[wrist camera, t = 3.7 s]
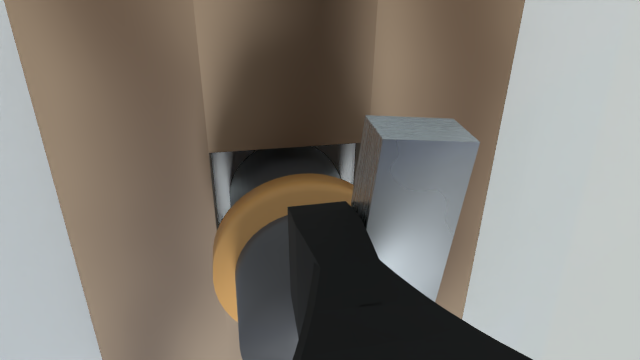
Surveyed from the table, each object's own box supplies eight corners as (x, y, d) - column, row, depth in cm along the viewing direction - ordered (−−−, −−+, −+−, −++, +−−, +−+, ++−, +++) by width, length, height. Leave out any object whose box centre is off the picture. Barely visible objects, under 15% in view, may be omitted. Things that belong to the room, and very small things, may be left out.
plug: (218, 258, 19) (222, 423, 13) (205, 130, 16) (201, 261, 10) (352, 244, 20) (415, 393, 14) (359, 121, 17) (439, 236, 11)
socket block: (117, 358, 20) (71, 574, 14) (23, -10, 14) (-154, 67, 7) (443, 315, 23) (538, 482, 16) (501, -16, 16) (704, 37, 9)
